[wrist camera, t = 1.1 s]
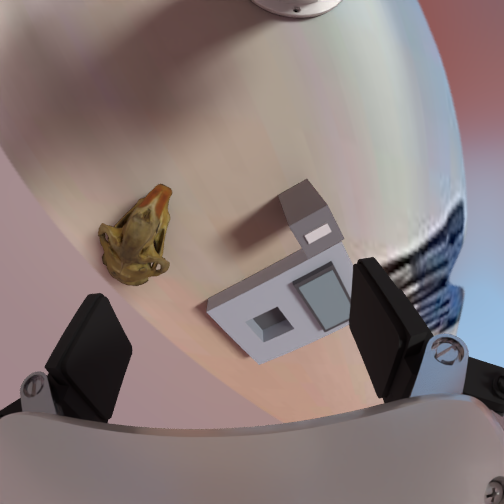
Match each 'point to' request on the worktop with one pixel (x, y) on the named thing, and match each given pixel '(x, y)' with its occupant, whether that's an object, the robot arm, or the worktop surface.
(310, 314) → the dock board
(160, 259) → the animal skull
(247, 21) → the worktop surface
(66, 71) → the worktop surface
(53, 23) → the worktop surface
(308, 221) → the block
